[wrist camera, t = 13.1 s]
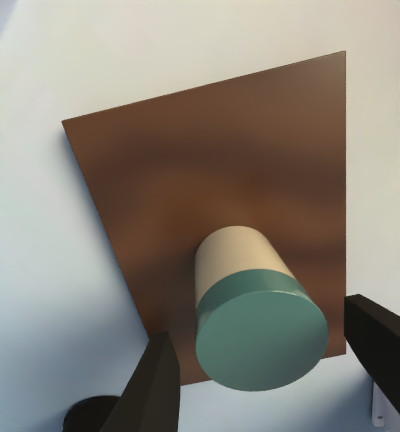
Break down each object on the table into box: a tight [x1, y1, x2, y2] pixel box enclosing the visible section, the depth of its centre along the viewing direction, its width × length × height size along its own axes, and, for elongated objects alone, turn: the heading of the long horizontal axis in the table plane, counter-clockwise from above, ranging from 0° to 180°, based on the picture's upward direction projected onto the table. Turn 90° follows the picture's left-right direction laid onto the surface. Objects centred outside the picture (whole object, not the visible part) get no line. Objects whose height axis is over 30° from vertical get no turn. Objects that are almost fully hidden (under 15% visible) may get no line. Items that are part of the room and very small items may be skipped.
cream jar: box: [194, 226, 329, 391], centre depth 11 cm, size 5×5×6 cm
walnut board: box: [61, 51, 346, 386], centre depth 15 cm, size 20×14×1 cm
